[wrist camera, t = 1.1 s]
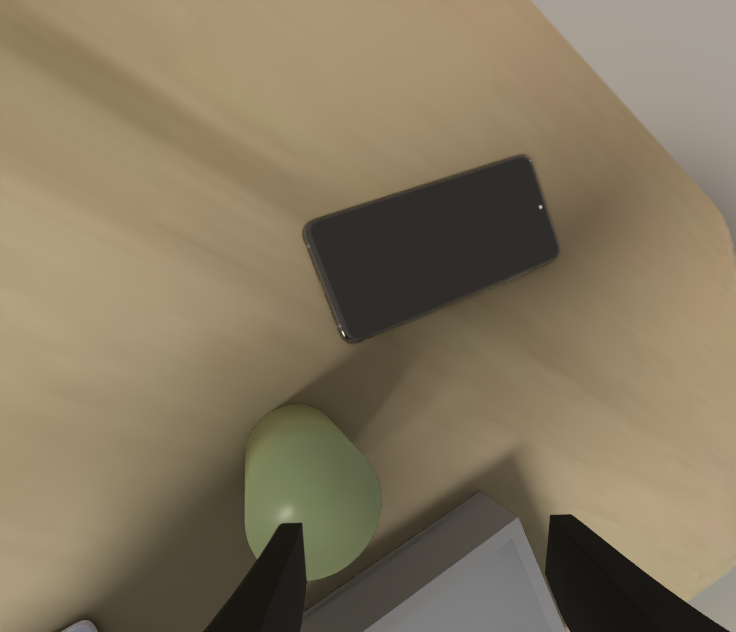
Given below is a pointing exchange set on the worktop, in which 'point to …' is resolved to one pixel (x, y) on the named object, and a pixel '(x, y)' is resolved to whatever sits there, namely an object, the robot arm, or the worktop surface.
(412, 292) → the smartphone
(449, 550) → the grey bin
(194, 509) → the worktop surface
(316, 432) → the green cylinder
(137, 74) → the worktop surface
